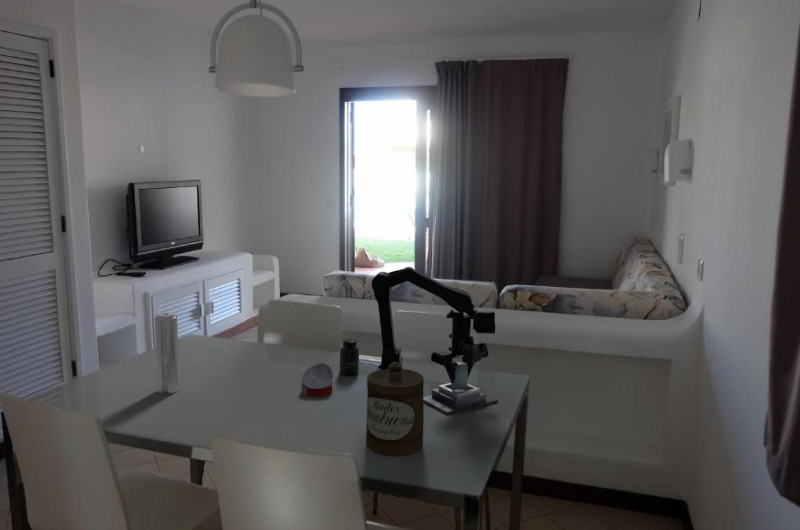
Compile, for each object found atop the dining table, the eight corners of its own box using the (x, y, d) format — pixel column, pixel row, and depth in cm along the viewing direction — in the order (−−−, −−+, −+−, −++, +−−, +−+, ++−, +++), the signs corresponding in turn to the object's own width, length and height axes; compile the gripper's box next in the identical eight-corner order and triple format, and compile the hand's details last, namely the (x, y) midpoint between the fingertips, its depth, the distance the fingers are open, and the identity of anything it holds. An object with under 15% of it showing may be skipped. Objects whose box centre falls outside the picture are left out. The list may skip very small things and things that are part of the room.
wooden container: (356, 450, 155) (357, 366, 152) (379, 428, 169) (380, 351, 166) (411, 460, 150) (413, 374, 147) (430, 437, 164) (432, 358, 161)
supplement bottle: (349, 377, 211) (350, 344, 209) (335, 373, 215) (335, 340, 213) (362, 372, 216) (363, 340, 214) (348, 368, 220) (348, 336, 218)
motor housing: (447, 414, 179) (448, 400, 179) (419, 400, 191) (419, 386, 190) (497, 402, 191) (498, 388, 190) (468, 388, 202) (469, 375, 201)
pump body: (457, 389, 187) (458, 367, 186) (447, 384, 191) (448, 363, 190) (470, 386, 189) (471, 364, 188) (460, 382, 193) (460, 360, 192)
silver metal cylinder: (183, 389, 196) (181, 313, 192) (168, 395, 190) (165, 317, 187) (168, 385, 199) (165, 310, 195) (152, 392, 193) (149, 314, 189)
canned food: (332, 404, 198) (345, 381, 195) (308, 409, 191) (320, 385, 187) (314, 381, 205) (326, 358, 201) (290, 385, 197) (301, 361, 194)
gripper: (454, 342, 176) (452, 394, 178) (501, 334, 186) (499, 383, 188) (430, 333, 185) (429, 383, 187) (477, 326, 195) (475, 373, 198)
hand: (459, 381), depth 190 cm, fingers closed on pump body, 5 cm apart
